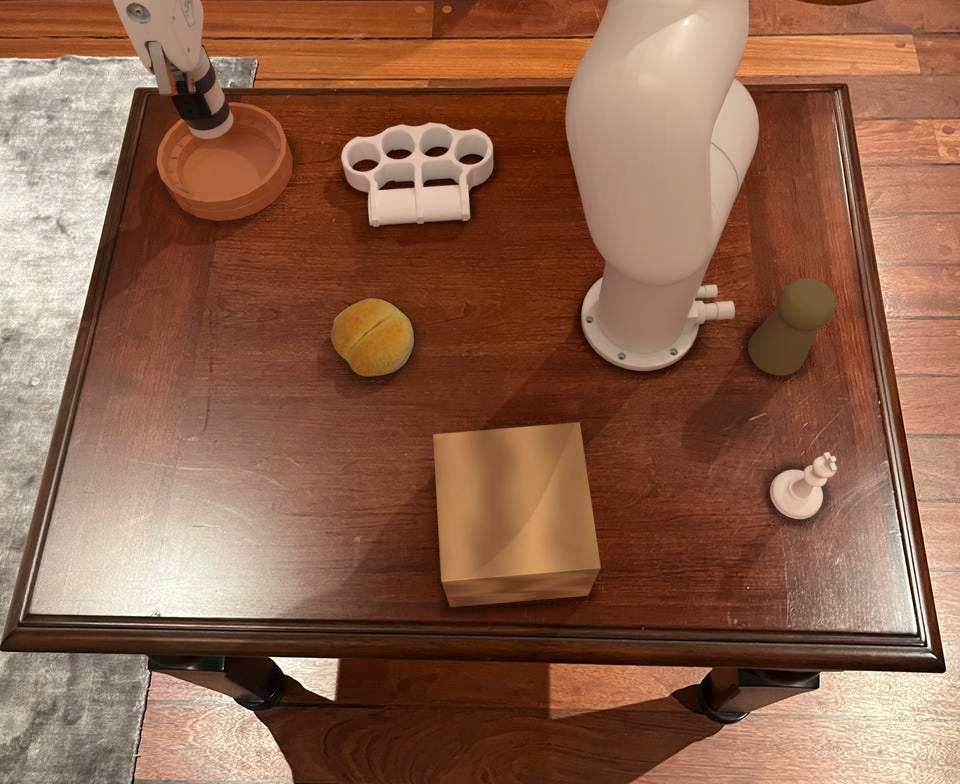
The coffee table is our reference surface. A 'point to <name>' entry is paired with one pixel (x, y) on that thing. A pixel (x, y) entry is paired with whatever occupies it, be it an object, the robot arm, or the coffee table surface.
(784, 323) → the olive pawn figure
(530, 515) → the block
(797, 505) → the chess piece
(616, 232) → the robot arm
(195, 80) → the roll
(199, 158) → the terracotta dish
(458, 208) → the knuckle duster
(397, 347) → the bread roll
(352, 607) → the coffee table surface
